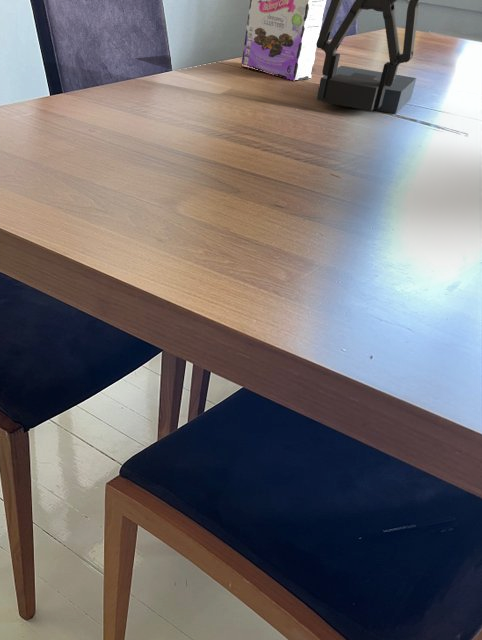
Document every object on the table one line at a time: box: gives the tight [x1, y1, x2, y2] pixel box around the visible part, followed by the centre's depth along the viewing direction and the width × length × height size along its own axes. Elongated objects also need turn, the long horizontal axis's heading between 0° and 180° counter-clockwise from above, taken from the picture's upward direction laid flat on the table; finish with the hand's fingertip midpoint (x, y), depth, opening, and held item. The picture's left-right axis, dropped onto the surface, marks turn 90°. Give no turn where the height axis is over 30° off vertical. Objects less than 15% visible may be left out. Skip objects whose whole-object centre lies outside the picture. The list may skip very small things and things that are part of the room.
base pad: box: [316, 65, 417, 115], centre depth 131 cm, size 14×14×4 cm
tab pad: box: [323, 73, 380, 112], centre depth 124 cm, size 8×10×4 cm
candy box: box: [241, 0, 327, 82], centre depth 139 cm, size 14×6×16 cm, turn 43°
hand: (352, 101), depth 123 cm, fingers closed on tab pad, 8 cm apart
